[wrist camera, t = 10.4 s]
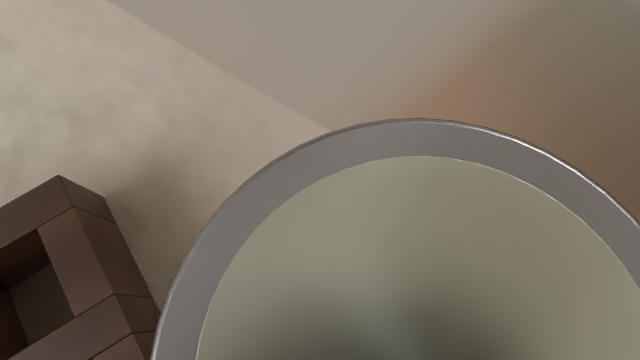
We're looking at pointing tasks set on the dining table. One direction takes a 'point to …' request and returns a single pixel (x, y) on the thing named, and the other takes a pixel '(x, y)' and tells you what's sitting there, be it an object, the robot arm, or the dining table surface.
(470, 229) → the flashlight
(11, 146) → the dining table surface
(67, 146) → the dining table surface
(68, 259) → the tool caddy
